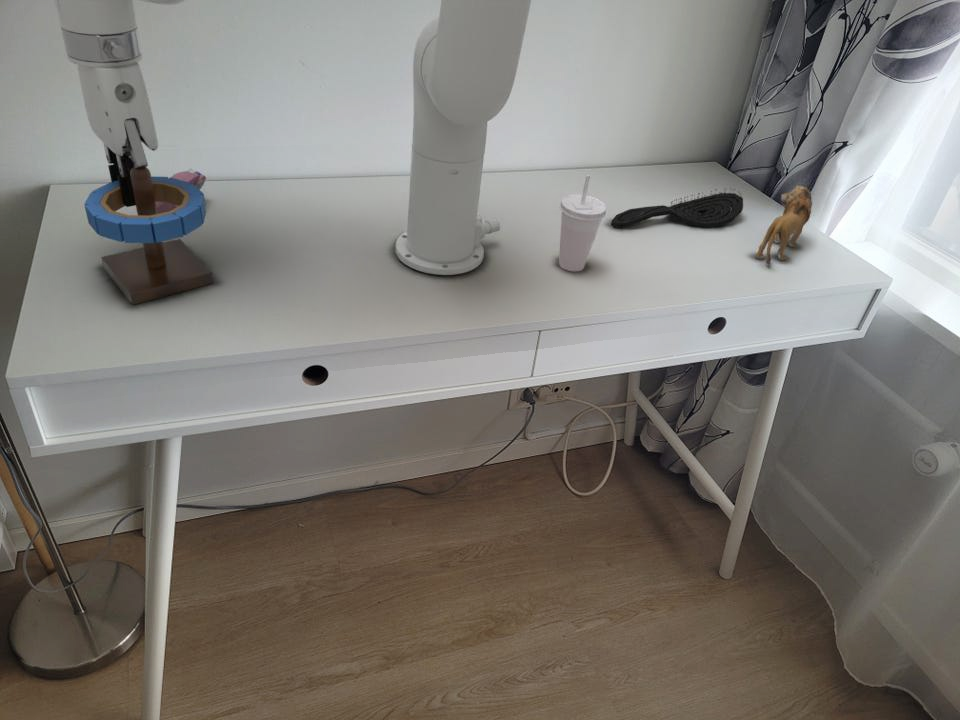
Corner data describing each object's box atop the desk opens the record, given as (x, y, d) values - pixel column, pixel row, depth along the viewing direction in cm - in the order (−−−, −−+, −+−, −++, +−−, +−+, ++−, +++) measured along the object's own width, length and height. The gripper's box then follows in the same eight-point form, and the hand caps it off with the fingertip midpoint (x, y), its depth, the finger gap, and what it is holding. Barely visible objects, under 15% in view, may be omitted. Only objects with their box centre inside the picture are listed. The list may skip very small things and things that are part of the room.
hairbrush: (602, 198, 121) (726, 180, 129) (598, 219, 123) (720, 200, 132) (629, 222, 115) (757, 202, 124) (624, 243, 117) (751, 221, 126)
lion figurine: (769, 228, 126) (788, 178, 120) (801, 238, 124) (821, 187, 118) (750, 262, 115) (770, 209, 109) (785, 274, 113) (807, 220, 108)
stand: (181, 249, 100) (165, 143, 91) (213, 283, 94) (199, 174, 86) (103, 267, 95) (78, 157, 86) (132, 305, 89) (108, 190, 80)
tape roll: (180, 186, 97) (177, 169, 96) (223, 227, 90) (221, 209, 88) (75, 207, 90) (70, 188, 88) (112, 253, 83) (108, 234, 81)
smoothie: (541, 265, 107) (557, 173, 99) (562, 249, 112) (580, 160, 103) (580, 281, 105) (600, 188, 96) (600, 264, 109) (621, 174, 101)
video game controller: (166, 235, 106) (180, 198, 102) (136, 216, 105) (150, 178, 101) (200, 206, 113) (215, 171, 109) (173, 189, 113) (188, 153, 109)
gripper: (166, 61, 79) (189, 218, 90) (112, 22, 88) (139, 169, 99) (91, 69, 75) (125, 232, 86) (43, 27, 84) (79, 180, 95)
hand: (132, 197), depth 93 cm, fingers closed on tape roll, 2 cm apart
